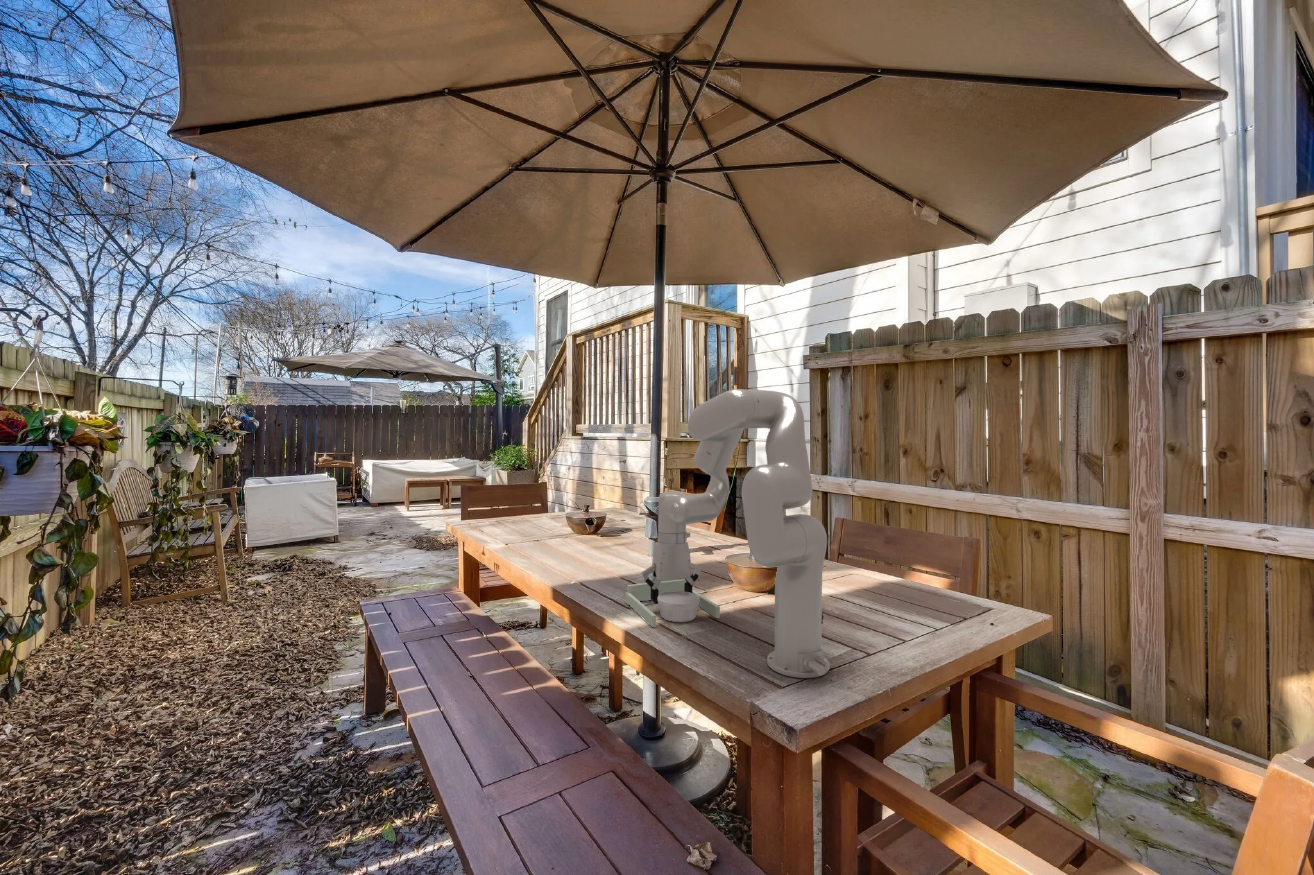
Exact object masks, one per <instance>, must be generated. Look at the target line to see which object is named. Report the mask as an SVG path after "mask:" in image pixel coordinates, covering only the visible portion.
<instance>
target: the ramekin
mask: <svg viewBox="0 0 1314 875" xmlns="http://www.w3.org/2000/svg"><path fill="white" fill-rule="evenodd" d="M657 600H658V608H659V614H660V616H661V618H662V619H663V618H664V619H663V620H666V621H667V620H668V622H671V621H672V622H671V623H686V622H691V621H693V620H695V618H697V615H698V610H699V602H700V597H699V596H698V595H696V594H693V593H690V592H683V591H671V592H665V593H662V594H660V595H659V596H658V598H657Z"/></svg>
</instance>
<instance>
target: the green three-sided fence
mask: <svg viewBox="0 0 1314 875" xmlns="http://www.w3.org/2000/svg"><path fill="white" fill-rule="evenodd" d="M685 583H686V580H685V579H682V580H674V581H663V582H662V581H661V583H660V584H659V585H658V587H657V589H658V590H659V595H660V594H662V593H665V592H671V591H683V592H684V584H685ZM692 593H693V594H696V595H698V596H699V597H700V602H699V606H698V608H700V607H701V608H700V609H701V610H703V609H704V610H703V611H704V612H706V613H708V614H709V615H711V616H712V618H715V619H716V618H717V619H720V618H721V616H720V615H721V611H720V610H721V609H720V608H721V607H720V605H718V604H716V603H714V602H713V601H712V600H710V599H708V598H707V597H705V596H704V595H702V594H701V593H699V592H697V591H696V590H694V589H693V588H692ZM640 600H651V587H650V586H649V585H648V584H647V583H646V582H644V583H635V584H628V585H627V584H626V591H625V603H626V602H627V603H628V604H629V605H630V606H631V607H632V608H633V609H634V610H635V611H636V612H637V613H638V614H639V615H640V616H642V617H643V618H644V619H645V620H646V621H647V622H648V623H649V624H650V625H651V626H652V627H654V628H656V627H657V615H656V614H655V613H654V612H653V611H652V610H651V609H650V608H648V606H646V605H644V604H643V602H640ZM632 608H631V609H632ZM633 609H632V610H633ZM634 610H633V611H634ZM635 611H634V612H635ZM636 612H635V613H636ZM637 613H636V614H637ZM638 614H637V615H638ZM639 615H638V616H639ZM640 616H639V617H640ZM647 622H646V623H647ZM648 623H647V624H648ZM649 624H648V625H649ZM650 625H649V626H650ZM651 626H650V627H651ZM652 627H651V628H652Z"/></svg>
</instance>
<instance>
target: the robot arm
mask: <svg viewBox="0 0 1314 875" xmlns="http://www.w3.org/2000/svg"><path fill="white" fill-rule="evenodd" d="M804 418H805V417H804V412H803V408H802V407H801V405H800V403H799V401H798V400H797V399H795V397H793V396H791V395H789V394H787V393H785V392H780V391H775V390H765V389H764V390H763V389H746V388H745V389H743V388H741V389H740V388H735V389H730V390H727V391H724V392H722V393H720V394H719V395H717V396H714V397H712V398H710V399H709V400H707V401H704V402H703V403H701V404H698V405H697V406H696V407H695V408H694V409H693V411H692V412H691V413H690V415H689V418H688V419H687V420H688V422H687V430H688V434H689V436H690V437H691V438H692V439H693V440H694V441H697V442H699V444H698V446H697V450H696V452H695V453H694V456H693V461H694V464H695V465H696V467H697V468H698V469H699V470H701V471H702V472H704V473H705V474H706V475H709V476H710V481H709V482H708V486H707V488H706V490H705V491H704V492H701V493H692V494H685V493H684V492H680V491H665V492H664V491H663V492H662V493H660V494H659V495H658V522H657V523H658V526H657V527H658V529H657V530H658V536H657V537H658V538H657V540H658V541H655V543H654V546H653V554H652V561H651V565H650V566H649V567H648V568H646V569H644V570H643V571H641V574H640V575H641V577H642V578H643V580H644V583H647V584H648V585H649V586H650V587H651V600H652V601H651V602H652V603H654V604H655V605H659V603H658V600H657V598H658V596H659V590H658V589H657V587H658V585H659V584H660V583H661V581H662V582H663V581H674V580H682V579H685V580H686V583H685V584H684V592H690V593H692V589H693V586H694V585H695V582H696V580H697V579H698V578H699V575H700V573H701V571H702V567H700V566H699V565H697V564H694V563H693V562H692V560H691V552H690V545H689V542H688V541H687V540H688V539H687V538H690V537H691V532H689V531H687V525H693V524H697V523H698V524H699V523H706V522H707V523H708V522H712V521H714V520H716V518H718V516H719V515H720V514H721V513H722V511H723V509H724V507H725V505H726V502H727V500H728V498H729V494H730V481H729V477H728V474H727V468H728V465H729V464H730V462H731V460H732V457H733V455H734V452H735V450H736V449H737V446H738V443H739V442H740V439H741V437H742V435H743V432H744V429H769V431H768V433H767V436H766V440H765V454H766V455H765V456H766V464H760V465H757V466H754V467H752V468H751V469H750V470H748V472H747V473H746V475H745V476H744V479H743V482H742V486H741V500H742V508H743V516H744V524H745V531H746V540H747V544H748V548H749V551H750V553H751V555H752V557H753V559H754V560H755V561H756V562H757V563H758V564H759V565H761V566H762V567H763V566H766V567H777V566H778V568H777V572H776V578H775V595H774V650H773V651H770V652H769V653H768V654H767V657H766V663H767V666H768V667H769V668H771V669H772V670H773V671H775V672H776V673H779V674H780V675H784V676H786V677H791V678H796V679H797V678H798V679H800V678H801V679H812V678H818V677H819V678H820V677H822V676H824V675H826V674H827V673H828V672H829V670H830V669H831V666H832V665H831V663H830V662H829V660H828V659H827V657H825V651H824V650H823V649H822V638H823V636H822V634H823V633H822V630H823V629H822V625H823V624H822V621H823V620H822V615H823V611H822V610H823V608H822V607H823V606H822V604H823V603H822V602H823V600H822V598H823V597H822V596H823V595H822V593H823V572H824V571H823V569H824V562H825V557H826V552H827V546H828V536H827V535H828V534H827V532H826V528H825V526H824V525H823V524H822V522H821V521H820V520H819V519H818V518H816V517H814V516H812V515H809V514H804V513H803V514H802V513H800V514H799V513H795V514H789V515H784V510H790V509H796V508H800V507H803V506H805V505H806V504H808V503H809V502H810V501H811V498H812V496H813V484H812V476H811V475H812V474H811V469H810V463H809V461H810V460H809V454H808V449H807V444H806V443H807V442H806V432H805V419H804ZM692 570H693V573H692ZM650 574H651V576H652V577H653V578H652V579H650Z"/></svg>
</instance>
